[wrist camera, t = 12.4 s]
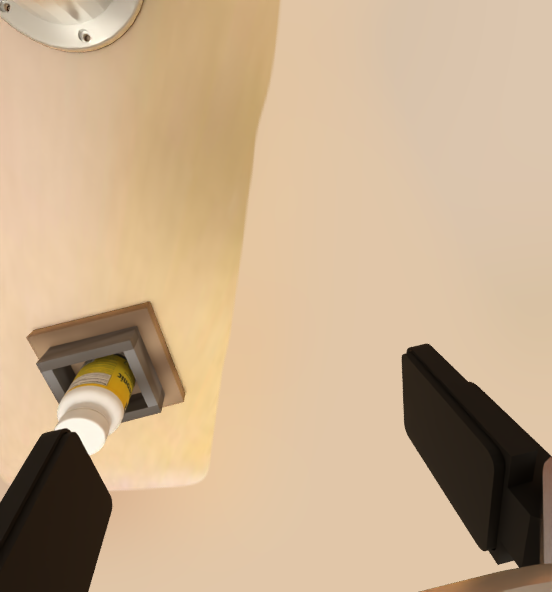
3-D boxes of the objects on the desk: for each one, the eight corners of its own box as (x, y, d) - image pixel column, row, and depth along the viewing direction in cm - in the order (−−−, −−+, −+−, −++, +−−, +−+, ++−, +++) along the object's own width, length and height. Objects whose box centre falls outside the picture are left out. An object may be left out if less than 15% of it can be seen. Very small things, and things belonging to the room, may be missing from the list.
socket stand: (33, 330, 37) (10, 353, 33) (149, 301, 38) (140, 321, 34) (82, 419, 42) (67, 449, 38) (185, 393, 43) (181, 420, 38)
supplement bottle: (139, 391, 40) (115, 463, 31) (86, 391, 39) (45, 464, 30) (138, 348, 38) (112, 411, 29) (82, 346, 37) (37, 411, 28)
